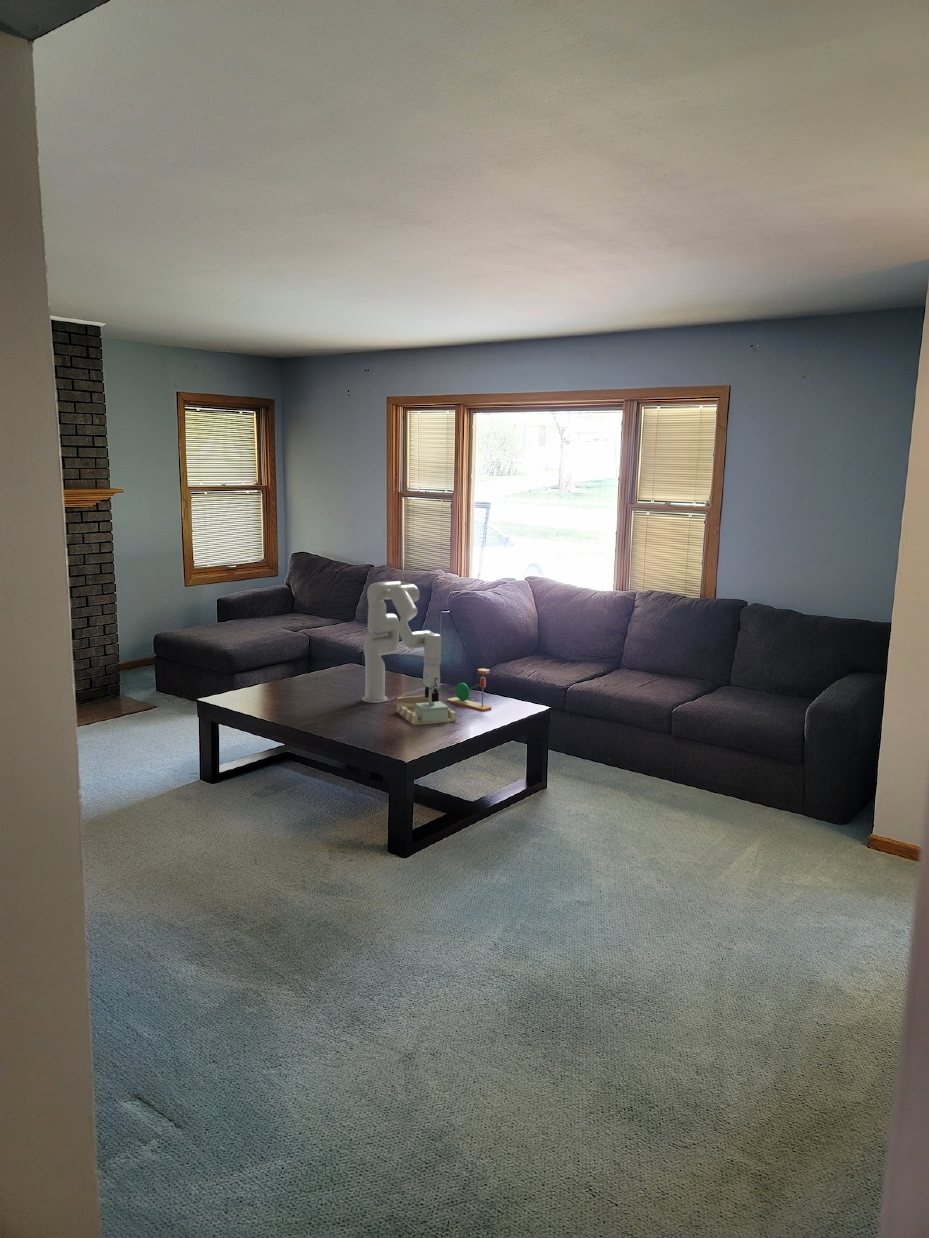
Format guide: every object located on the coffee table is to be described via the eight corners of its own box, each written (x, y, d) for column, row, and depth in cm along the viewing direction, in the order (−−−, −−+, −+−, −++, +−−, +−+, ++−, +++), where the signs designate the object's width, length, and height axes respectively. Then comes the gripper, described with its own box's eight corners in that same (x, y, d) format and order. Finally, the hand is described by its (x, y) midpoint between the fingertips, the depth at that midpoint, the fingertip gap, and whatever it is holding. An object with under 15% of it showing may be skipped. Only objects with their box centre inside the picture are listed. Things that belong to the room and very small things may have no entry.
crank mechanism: (492, 709, 419) (493, 670, 416) (483, 712, 414) (484, 672, 411) (455, 699, 436) (456, 661, 433) (445, 701, 431) (446, 663, 428)
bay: (397, 712, 410) (397, 697, 409) (437, 708, 418) (437, 694, 417) (413, 725, 389) (414, 709, 388) (455, 721, 397) (455, 706, 396)
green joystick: (414, 716, 399) (415, 680, 397) (439, 713, 404) (440, 678, 401) (422, 722, 390) (423, 685, 387) (448, 719, 395) (448, 683, 392)
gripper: (417, 657, 399) (417, 695, 402) (431, 665, 384) (430, 704, 386) (433, 656, 402) (432, 694, 405) (447, 664, 386) (446, 703, 389)
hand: (431, 699), depth 396 cm, fingers open, 7 cm apart
